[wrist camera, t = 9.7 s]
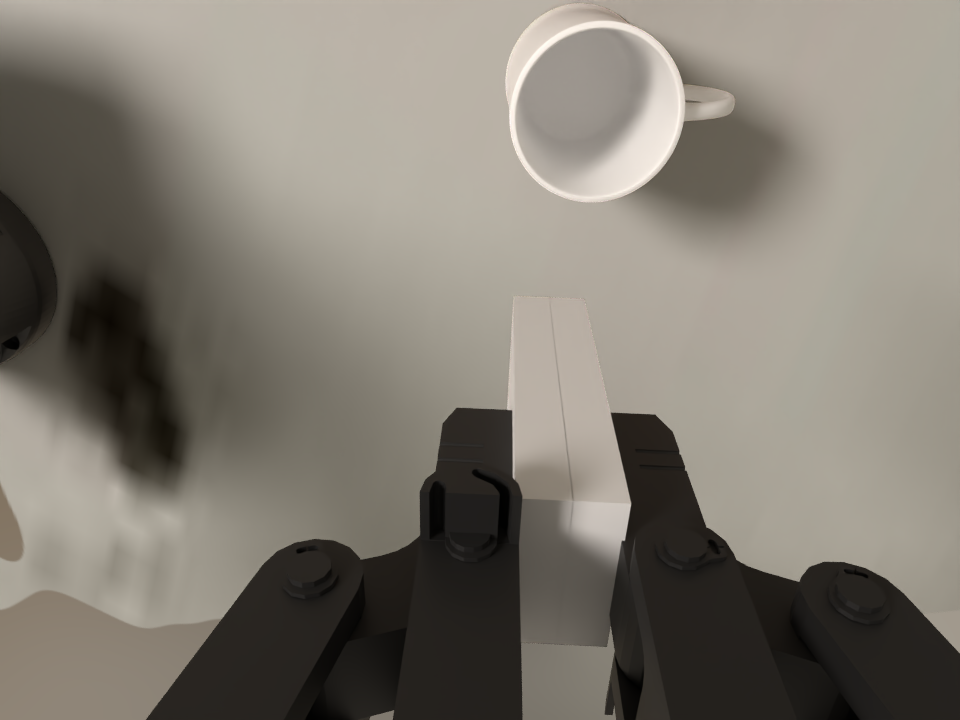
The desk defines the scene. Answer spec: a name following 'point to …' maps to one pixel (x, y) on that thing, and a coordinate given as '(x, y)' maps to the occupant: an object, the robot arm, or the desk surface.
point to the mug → (598, 103)
